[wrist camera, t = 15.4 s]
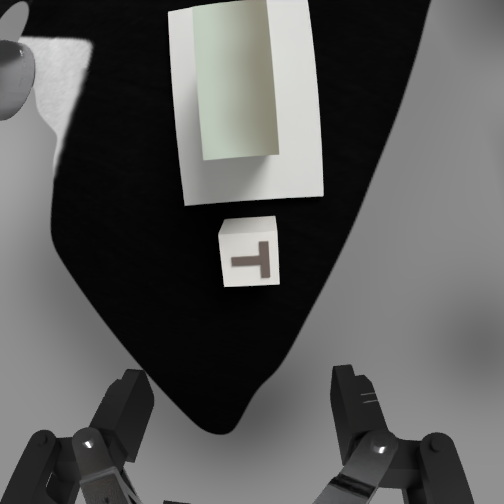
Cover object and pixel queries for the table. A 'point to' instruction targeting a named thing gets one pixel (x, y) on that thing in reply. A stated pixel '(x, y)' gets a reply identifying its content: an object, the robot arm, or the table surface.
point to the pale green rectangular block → (235, 80)
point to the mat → (287, 108)
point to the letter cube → (249, 251)
